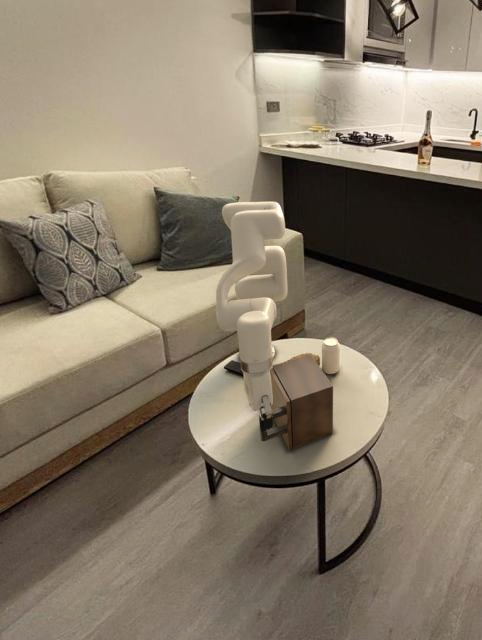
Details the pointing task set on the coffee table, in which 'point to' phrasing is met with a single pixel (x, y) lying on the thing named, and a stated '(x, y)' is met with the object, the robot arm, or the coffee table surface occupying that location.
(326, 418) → the cupboard
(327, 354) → the beverage can
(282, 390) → the door
